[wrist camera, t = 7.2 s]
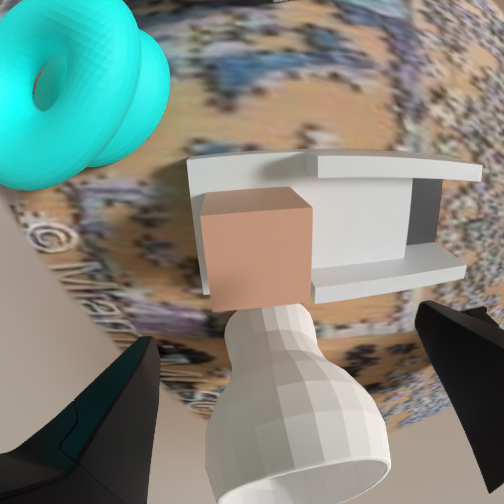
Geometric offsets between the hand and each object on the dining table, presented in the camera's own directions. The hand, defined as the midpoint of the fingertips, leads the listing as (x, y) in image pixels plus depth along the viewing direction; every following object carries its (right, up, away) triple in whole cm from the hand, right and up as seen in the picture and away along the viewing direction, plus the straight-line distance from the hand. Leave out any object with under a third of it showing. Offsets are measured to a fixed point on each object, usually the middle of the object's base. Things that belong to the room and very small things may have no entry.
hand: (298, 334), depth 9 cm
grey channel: (+5, +6, +12) cm, 15 cm away
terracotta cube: (-2, +4, +10) cm, 11 cm away
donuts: (-12, +13, +8) cm, 19 cm away
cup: (0, -4, +16) cm, 17 cm away
